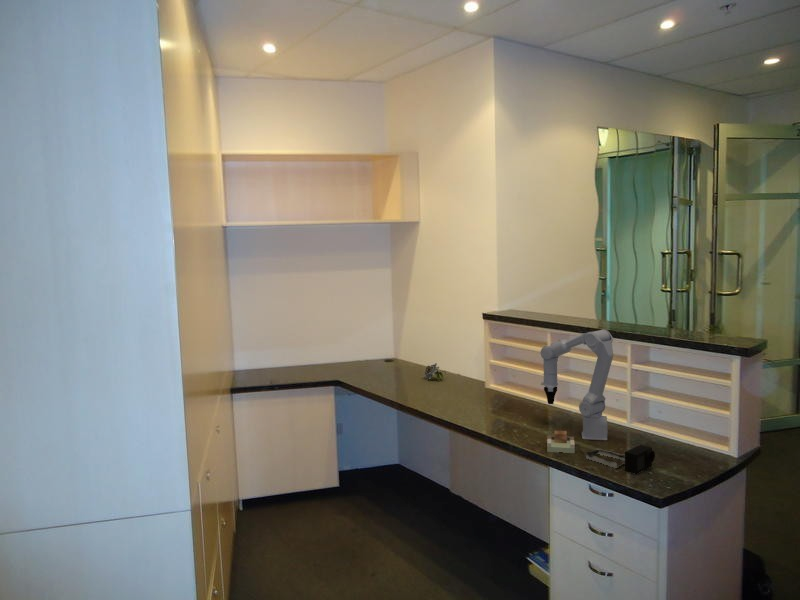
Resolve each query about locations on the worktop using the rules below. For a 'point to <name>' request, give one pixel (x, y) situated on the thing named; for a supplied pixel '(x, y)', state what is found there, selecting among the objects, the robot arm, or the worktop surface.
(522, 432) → the worktop surface
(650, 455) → the digital camera
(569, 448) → the board
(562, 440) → the block
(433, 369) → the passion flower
